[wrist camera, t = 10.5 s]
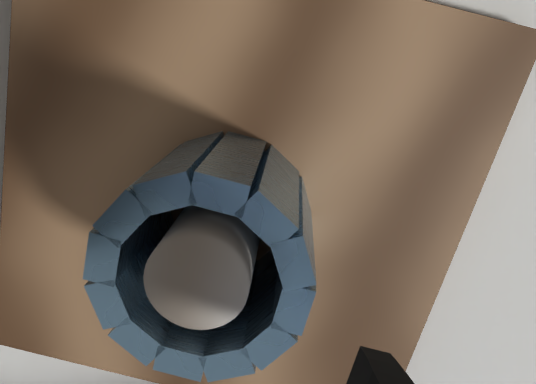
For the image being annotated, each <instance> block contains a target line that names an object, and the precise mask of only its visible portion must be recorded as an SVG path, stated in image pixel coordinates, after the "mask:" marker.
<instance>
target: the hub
mask: <svg viewBox="0 0 536 384" xmlns="http://www.w3.org/2000/svg"><path fill="white" fill-rule="evenodd" d="M265 145H266V141H263V140H260V139H256V138H252V137H248V136H245V135H241V134H237V133H233V132H230V131H228V132H227V133H226V135H225V136H224V134H223V131H221V132H218V133H214V134H210V135H207V136H203V137H199V138H195V139H192V140H188V141H185V142H184V143H183V144H180V145H179V146H178V147H177V148H175V149H174V150H173V151H172V152H171V153H169V154H168V155H167V156H166V157H164V158H163V159H162V160H161V161H160V162H158V163H157V164H156V165H155V166H153V167H152V168H151V169H150V170H149V171H147V172H146V173H145V174H144V175H142V176H141V177H140V178H139V179H138V180H136V181H135V182H134V183H133V184H131V185H130V186H129V187H128V188H127V189H125V191H124V192H123V193H122V194H121V195H120V196H119V197H118V198H117V199H116V200H115V201H114V202H113V204H112V205H111V206H110V207H109V208H108V209H107V210H106V211H105V212H104V213H103V214H102V216H101V217H100V218H99V219H98V220H97V221H96V222H95V223H94V224H93V225H92V226H93V227H94V228H93V229H92V230H91V231H90V232H89V236H88V243H87V250H86V258H85V265H84V272H83V279H84V280H88V282H87V283H86V284H85V285H84V288H85V290H86V292H87V295H88V297H89V299H90V301H91V304H92V306H93V308H94V310H95V312H96V315H97V317H98V319H99V321H100V324H101V326H102V328H103V330H104V329H109V328H112V330H111V331H110V333H109V334H108V336H109V337H110V338H111V339H113V340H114V341H115V342H116V343H118V344H119V345H120V346H121V347H123V348H124V349H125V350H126V351H128V352H129V353H130V354H131V355H132V356H134V357H135V358H136V359H137V360H139V361H140V362H141V363H142V364H144V365H145V366H147V365H148V364H149V363H150V362H151V361H153V360H154V359H155V361H154V366H153V370H156V371H159V372H163V373H167V374H171V375H175V376H179V377H183V378H187V379H190V380H194V381H198V382H201V379H202V376H203V372H204V374H205V376H206V379H207V382H213V381H218V380H223V379H229V378H234V377H240V376H245V375H251V374H255V371H256V366H257V367H258V368H259V369H260V370H261V371H262V370H263V369H264V368H266V367H267V366H268V365H269V364H271V363H272V362H273V361H274V360H276V359H277V358H278V357H279V356H281V355H282V354H283V353H284V352H286V351H287V350H288V349H289V348H290V347H292V346H293V345H294V344H295V343H297V342H298V335H299V336H302V334H303V331H304V328H305V325H306V322H307V319H308V316H309V313H310V310H311V307H312V304H313V301H314V298H315V295H316V285H317V284H316V270H315V256H314V242H313V227H312V213H311V208H310V204H309V201H308V197H307V193H306V189H305V185H304V182H303V178H302V176H301V177H299V171H298V170H297V169H296V168H295V167H294V166H293V165H292V164H291V163H290V162H289V161H288V160H287V159H286V158H285V157H284V156H283V155H282V154H281V153H280V152H279V151H278V150H277V149H276V148H275V147H274V146H273V145H272V144H271V145H270V146H269V147H268V148H267V149H266V150H265V151H264V149H265ZM191 205H194V206H197V207H201V208H205V209H209V210H213V211H216V212H220V213H224V214H228V215H231V216H235V217H238V218H239V219H240V220H241V221H242V222H243V223H245V224H246V225H247V226H248V227H249V228H250V229H251V230H252V231H253V232H254V233H255V234H256V235H257V236H259V237H260V238H261V239H262V240H263V241H264V242H265V243H266V244H267V245H268V246H269V247H270V248H271V250H270V251H268V252H267V253H266V254H265V255H264V256H263V257H262V258H261V259H260V260H256V261H255V266H254V270H253V275H252V280H251V285H250V290H249V294H248V298H247V301H246V304H245V306H244V308H243V309H242V311H241V312H240V313H239V314H238V315H237V316H236V317H235V318H234V319H233V320H232V321H230V322H229V323H227V324H225V325H223V326H220V327H217V328H214V329H208V330H194V329H188V328H184V327H181V326H178V325H176V324H174V323H172V322H170V321H169V320H167V319H166V318H164V317H163V316H162V315H161V314H160V313H159V312H158V311H157V310H156V309H155V308H154V307H153V305H152V304H151V302H150V301H149V299H148V297H147V294H146V291H145V287H144V279H143V277H144V269H145V265H146V263H147V260H148V259H149V257H150V255H151V254H152V252H153V251H154V249H155V248H156V247H157V245H158V244H159V243H160V241H161V240H162V238H163V237H164V236H165V234H166V233H167V231H168V230H169V229H170V227H171V226H172V224H173V223H174V220H173V218H172V215H171V210H175V209H179V208H183V207H187V206H191Z"/></svg>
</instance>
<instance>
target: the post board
mask: <svg viewBox="0 0 536 384" xmlns="http://www.w3.org/2000/svg"><path fill="white" fill-rule="evenodd" d="M535 60H536V29H534V28H530V27H526V26H522V25H518V24H514V23H510V22H506V21H503V20H499V19H495V18H491V17H487V16H483V15H479V14H475V13H471V12H467V11H464V10H460V9H456V8H452V7H448V6H444V5H440V4H436V3H432V2H428V1H424V0H12V8H11V27H10V47H9V67H8V87H7V107H6V127H5V147H4V167H3V187H2V207H1V226H0V345H4V346H8V347H12V348H16V349H20V350H25V351H29V352H33V353H37V354H41V355H45V356H49V357H53V358H57V359H61V360H65V361H69V362H73V363H77V364H81V365H86V366H90V367H94V368H98V369H102V370H106V371H110V372H114V373H118V374H122V375H126V376H130V377H134V378H138V379H142V380H147V381H151V382H155V383H159V384H346V383H347V380H348V377H349V375H350V372H351V369H352V366H353V364H354V361H355V358H356V356H357V353H358V350H359V347H360V346H363V347H367V348H371V349H375V350H379V351H383V352H387V353H391V354H392V356H393V357H394V358H395V359H396V360H397V362H398V363H399V364H400V366H401V367H402V368H403V369H404V371H406V369H407V366H408V364H409V362H410V359H411V357H412V354H413V352H414V350H415V347H416V345H417V342H418V340H419V338H420V335H421V333H422V330H423V328H424V326H425V323H426V321H427V318H428V316H429V314H430V311H431V309H432V306H433V304H434V302H435V299H436V297H437V295H438V292H439V290H440V287H441V285H442V283H443V280H444V278H445V275H446V273H447V271H448V268H449V266H450V263H451V261H452V259H453V256H454V254H455V251H456V249H457V247H458V244H459V242H460V239H461V237H462V235H463V232H464V230H465V228H466V225H467V223H468V220H469V218H470V216H471V213H472V211H473V208H474V206H475V204H476V201H477V199H478V196H479V194H480V192H481V189H482V187H483V184H484V182H485V180H486V177H487V175H488V172H489V170H490V168H491V165H492V163H493V160H494V158H495V156H496V153H497V151H498V149H499V146H500V144H501V141H502V139H503V137H504V134H505V132H506V129H507V127H508V125H509V122H510V120H511V117H512V115H513V113H514V110H515V108H516V105H517V103H518V101H519V98H520V96H521V93H522V91H523V89H524V86H525V84H526V81H527V79H528V77H529V74H530V72H531V70H532V67H533V65H534V62H535ZM221 131H223V134H224V136H225V135H226V133H227V132H228V131H230V132H233V133H237V134H241V135H245V136H248V137H252V138H256V139H260V140H263V141H266V145H265V149H264V151H265V150H266V149H267V148H268V147H269V146H270V145H271V144H272V145H273V146H274V147H275V148H276V149H277V150H278V151H279V152H280V153H281V154H282V155H283V156H284V157H285V158H286V159H287V160H288V161H289V162H290V163H291V164H292V165H293V166H294V167H295V168H296V169H297V170H298V171H299V177H301V176H302V178H303V182H304V185H305V189H306V193H307V197H308V201H309V204H310V208H311V213H312V227H313V242H314V256H315V270H316V284H317V285H316V295H315V298H314V301H313V304H312V307H311V310H310V313H309V316H308V319H307V322H306V325H305V328H304V331H303V334H302V336H299V335H298V342H297V343H295V344H294V345H293V346H292V347H290V348H289V349H288V350H287V351H286V352H284V353H283V354H282V355H281V356H279V357H278V358H277V359H276V360H274V361H273V362H272V363H271V364H269V365H268V366H267V367H266V368H264V369H263V370H262V371H261V370H260V369H259V368H258V367H257V366H256V371H255V374H251V375H245V376H240V377H234V378H229V379H223V380H218V381H213V382H207V379H206V376H205V374H204V372H203V376H202V379H201V382H198V381H194V380H190V379H187V378H183V377H179V376H175V375H171V374H167V373H163V372H159V371H156V370H153V366H154V361H155V359H154V360H153V361H151V362H150V363H149V364H148V365H147V366H145V365H144V364H142V363H141V362H140V361H139V360H137V359H136V358H135V357H134V356H132V355H131V354H130V353H129V352H128V351H126V350H125V349H124V348H123V347H121V346H120V345H119V344H118V343H116V342H115V341H114V340H113V339H111V338H110V337H109V336H108V334H109V333H110V331H111V330H112V328H109V329H104V330H103V328H102V326H101V324H100V321H99V319H98V317H97V315H96V312H95V310H94V308H93V306H92V304H91V301H90V299H89V297H88V295H87V292H86V290H85V288H84V285H85V284H86V283H87V282H88V280H84V279H83V272H84V265H85V258H86V250H87V243H88V236H89V232H90V231H91V230H92V229H93V228H94V227H93V226H92V225H93V224H94V223H95V222H96V221H97V220H98V219H99V218H100V217H101V216H102V214H103V213H104V212H105V211H106V210H107V209H108V208H109V207H110V206H111V205H112V204H113V202H114V201H115V200H116V199H117V198H118V197H119V196H120V195H121V194H122V193H123V192H124V191H125V189H127V188H128V187H129V186H130V185H131V184H133V183H134V182H135V181H136V180H138V179H139V178H140V177H141V176H142V175H144V174H145V173H146V172H147V171H149V170H150V169H151V168H152V167H153V166H155V165H156V164H157V163H158V162H160V161H161V160H162V159H163V158H164V157H166V156H167V155H168V154H169V153H171V152H172V151H173V150H174V149H175V148H177V147H178V146H179V145H180V144H183V143H184V142H185V141H188V140H192V139H195V138H199V137H203V136H207V135H210V134H214V133H218V132H221ZM171 215H172V218H173V220H174V223H173V224H172V226H171V227H170V229H169V230H168V231H167V233H166V234H165V236H164V237H163V238H162V240H161V241H160V243H159V244H158V245H157V247H156V248H155V249H154V251H153V252H152V254H151V255H150V257H149V259H148V260H147V263H146V265H145V269H144V277H143V279H144V287H145V291H146V294H147V297H148V299H149V301H150V302H151V304H152V305H153V307H154V308H155V309H156V310H157V311H158V312H159V313H160V314H161V315H162V316H163V317H164V318H166V319H167V320H169V321H170V322H172V323H174V324H176V325H178V326H181V327H184V328H188V329H194V330H208V329H214V328H217V327H220V326H223V325H225V324H227V323H229V322H230V321H232V320H233V319H234V318H235V317H236V316H237V315H238V314H239V313H240V312H241V311H242V309H243V308H244V306H245V304H246V301H247V298H248V294H249V290H250V285H251V280H252V275H253V270H254V266H255V261H256V260H260V259H261V258H262V257H263V256H264V255H265V254H266V253H267V252H268V251H270V250H271V248H270V247H269V246H268V245H267V244H266V243H265V242H264V241H263V240H262V239H261V238H260V237H259V236H257V235H256V234H255V233H254V232H253V231H252V230H251V229H250V228H249V227H248V226H247V225H246V224H245V223H243V222H242V221H241V220H240V219H239V218H238V217H235V216H231V215H228V214H224V213H220V212H216V211H213V210H209V209H205V208H201V207H197V206H194V205H191V206H187V207H183V208H179V209H175V210H171Z"/></svg>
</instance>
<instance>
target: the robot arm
mask: <svg viewBox="0 0 536 384" xmlns="http://www.w3.org/2000/svg"><path fill="white" fill-rule="evenodd" d="M346 384H414V383H413V381H412V380H411V379H410V377H409V376H408V375H407V373H406V372H405V371H404V369H403V368H402V367H401V366H400V364H399V363H398V362H397V360H396V359H395V358H394V357H393V356H392V354H391V353H387V352H383V351H379V350H375V349H371V348H367V347H363V346H360V347H359V350H358V353H357V356H356V358H355V361H354V364H353V366H352V369H351V372H350V375H349V377H348V380H347V383H346Z"/></svg>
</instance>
